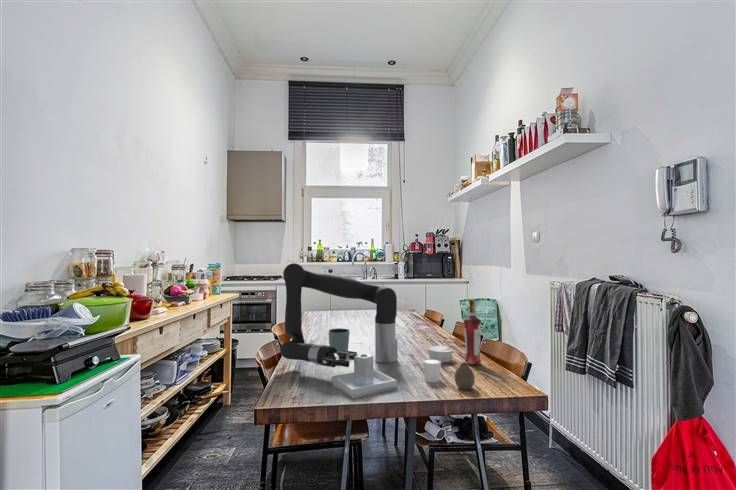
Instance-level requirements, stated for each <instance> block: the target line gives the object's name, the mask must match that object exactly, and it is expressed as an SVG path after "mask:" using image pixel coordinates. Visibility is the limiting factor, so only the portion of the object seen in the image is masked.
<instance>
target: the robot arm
mask: <svg viewBox="0 0 736 490" xmlns="http://www.w3.org/2000/svg"><path fill="white" fill-rule="evenodd" d="M282 278H283V281H284V283H285V284H284V285H285V291H286V293H285V294H286V296H285V297H286V299H285V311H284V312H285V313H284V333H285V334H286V335H288V336H290V338H291V340H287V341H284V342H282V344H281V346H280V348H279V351H280V354H281V356H282V357H283V358H284V359H287V360H295V361H296V360H297V361H305V362H309V363H313V364H316V365H320V366H325V367H330V368H336V367H344V368H349V367H350V361H354V356H357V355H358V352H357V351H351V350H348V351H346V350H345V351H344V352H337V350H336V349H335V348H334V347H331V346H329V345H324V344H315V343H310V342H309V343H308V342H307V343H306V342H305V338H304V334H303V330H302V326H303V325H302V323H303V321H302V290H303V288H306V289H312V290H315V291H317V292H322V293H323V294H324V293H325V294H328V295H331V296H336V297H340V298H345V299H352V300H353V299H354V300H355V299H356V300H363V301H367V302H371V303H373V304H376V305H375V307H376V308H375V309H376V313H375V317H374V335H375V337H374V338H375V339H374V340H375V341H374V347H375V349H374V351H375V352H374V355H375V356H374V357H375V358H374V359H375V362H376V363H381V364H391V363H395V362H397V361H398V338H396V334H397V333H396V319H397V312H398V311H397V307H398V306H397V304H398V302H397V294H396V291H395V290H394V289H393V288H391V287H389V286H382V285H374V284H367V283H364V282H362V281H359V280H357V279H353V278H351V277H347V276H343V275H339V274H334V273H318V272H313V271H310V270H307V269H304V267H303V266H302V265H300V263H296V262H291V263H290V264H287V265H286V267H284V269H283V274H282Z"/></svg>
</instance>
